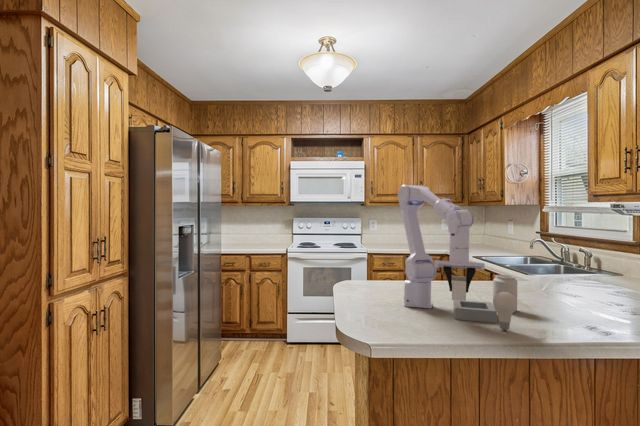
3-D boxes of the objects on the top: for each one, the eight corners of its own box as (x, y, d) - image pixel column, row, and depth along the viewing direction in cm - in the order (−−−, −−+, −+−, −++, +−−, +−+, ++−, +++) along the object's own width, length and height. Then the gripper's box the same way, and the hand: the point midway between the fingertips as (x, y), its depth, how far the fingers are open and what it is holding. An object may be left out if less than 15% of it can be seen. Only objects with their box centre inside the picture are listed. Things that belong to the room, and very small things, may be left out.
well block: (454, 319, 115) (455, 307, 115) (453, 309, 127) (453, 299, 127) (496, 322, 112) (496, 311, 111) (491, 312, 123) (491, 302, 123)
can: (520, 314, 122) (520, 278, 122) (496, 312, 123) (496, 277, 123) (513, 308, 129) (513, 274, 129) (490, 306, 131) (490, 273, 131)
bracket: (451, 299, 113) (452, 277, 113) (451, 296, 117) (452, 274, 117) (465, 301, 111) (466, 278, 111) (465, 297, 116) (465, 275, 116)
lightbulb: (515, 335, 100) (516, 295, 100) (491, 331, 104) (491, 292, 104) (517, 329, 105) (517, 291, 105) (494, 325, 109) (494, 288, 109)
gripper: (434, 248, 113) (434, 292, 113) (486, 250, 108) (485, 296, 109) (435, 246, 120) (434, 287, 120) (483, 248, 115) (482, 291, 115)
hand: (458, 291), depth 115 cm, fingers closed on bracket, 4 cm apart
